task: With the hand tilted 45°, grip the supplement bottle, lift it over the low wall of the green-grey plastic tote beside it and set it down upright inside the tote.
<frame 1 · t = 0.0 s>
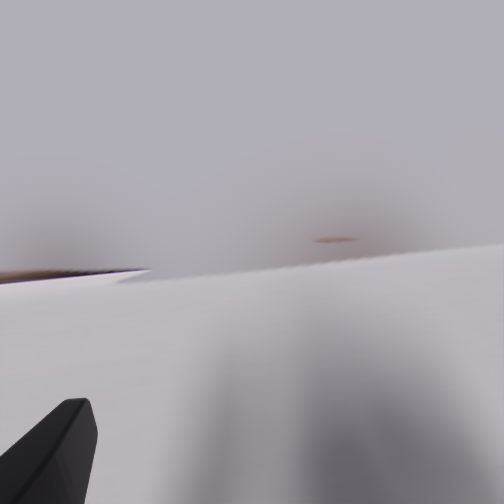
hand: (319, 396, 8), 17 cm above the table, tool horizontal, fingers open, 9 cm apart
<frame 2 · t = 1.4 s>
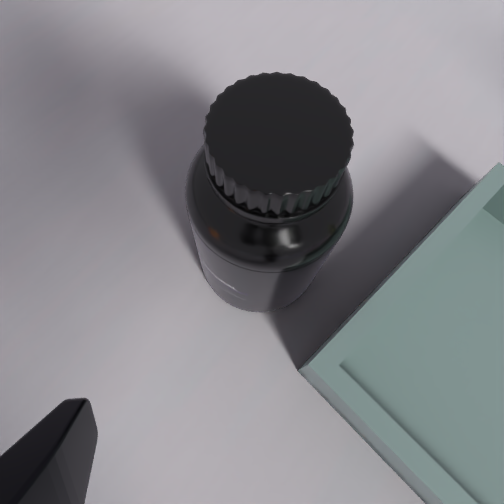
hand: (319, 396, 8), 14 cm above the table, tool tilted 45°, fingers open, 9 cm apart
supplement bottle: (259, 260, 23), on the table
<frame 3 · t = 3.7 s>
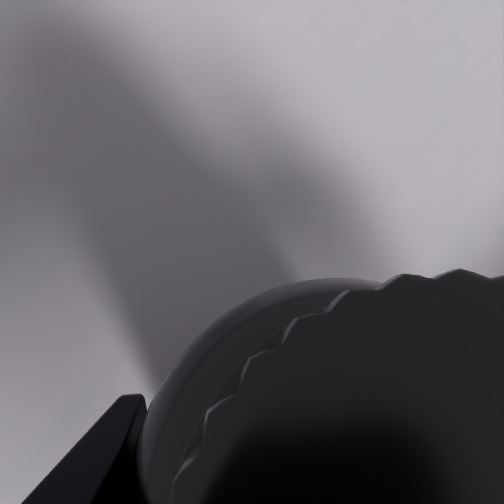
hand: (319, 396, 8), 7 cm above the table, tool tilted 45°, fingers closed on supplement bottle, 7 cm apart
supplement bottle: (287, 441, 14), on the table, touching gripper
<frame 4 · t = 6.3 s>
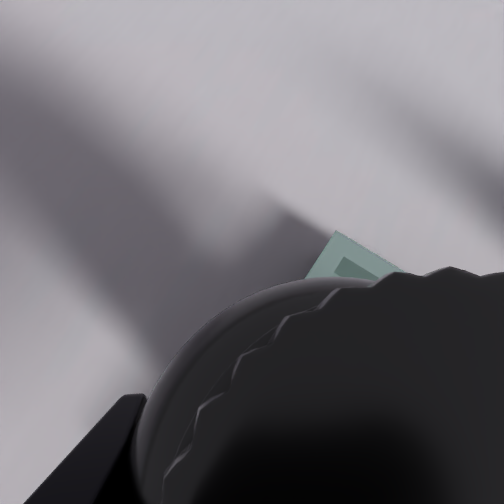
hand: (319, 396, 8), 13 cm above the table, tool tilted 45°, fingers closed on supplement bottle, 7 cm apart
supplement bottle: (285, 440, 14), point 6 cm above the table, touching gripper
tote: (380, 466, 19), on the table
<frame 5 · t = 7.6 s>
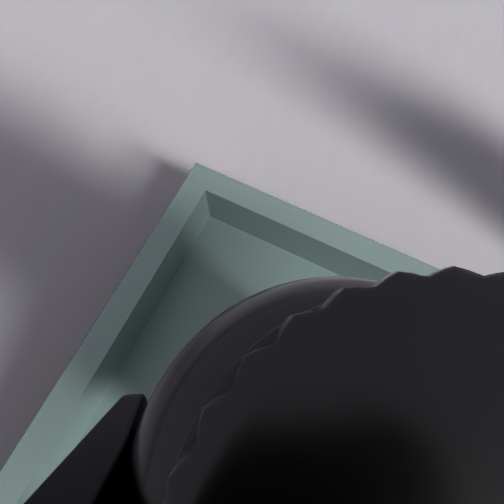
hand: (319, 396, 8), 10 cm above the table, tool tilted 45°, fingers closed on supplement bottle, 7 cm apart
supplement bottle: (286, 440, 14), point 3 cm above the table, touching gripper
tote: (280, 426, 16), on the table
when the fingers open (8 cm above the table, at t = 8.4 s): supplement bottle stays where it is, resting on tote.
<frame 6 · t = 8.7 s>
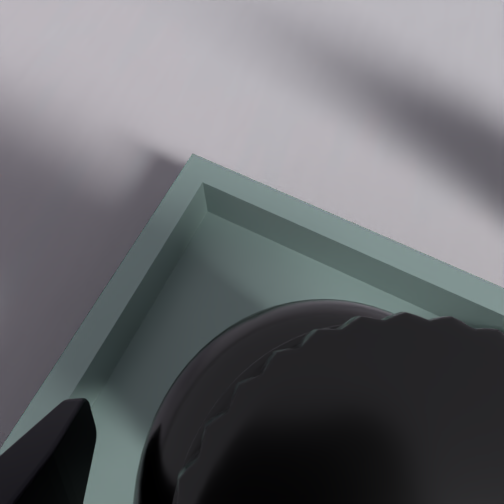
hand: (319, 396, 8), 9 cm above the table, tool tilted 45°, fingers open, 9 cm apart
supplement bottle: (283, 443, 14), point 1 cm above the table, touching tote
tote: (282, 437, 15), on the table
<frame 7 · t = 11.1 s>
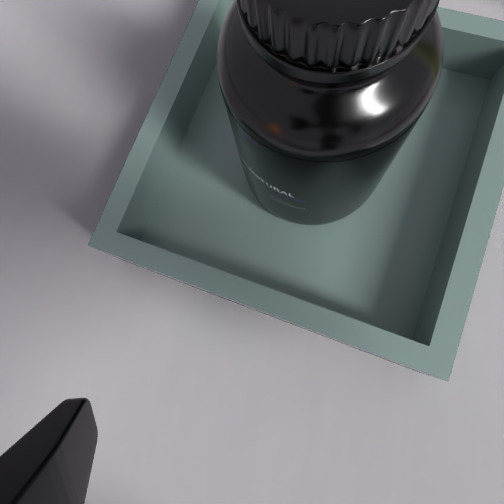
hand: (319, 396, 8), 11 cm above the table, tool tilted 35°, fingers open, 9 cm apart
supplement bottle: (312, 166, 20), point 1 cm above the table, touching tote
tote: (312, 170, 21), on the table
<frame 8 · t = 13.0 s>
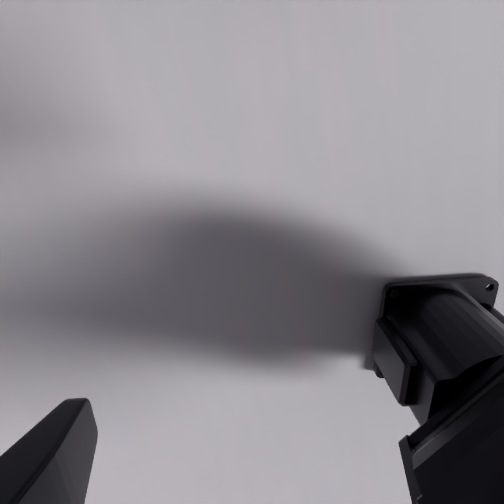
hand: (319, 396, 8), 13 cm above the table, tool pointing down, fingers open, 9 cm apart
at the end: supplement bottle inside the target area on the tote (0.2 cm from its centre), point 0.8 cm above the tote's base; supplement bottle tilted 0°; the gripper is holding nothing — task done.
